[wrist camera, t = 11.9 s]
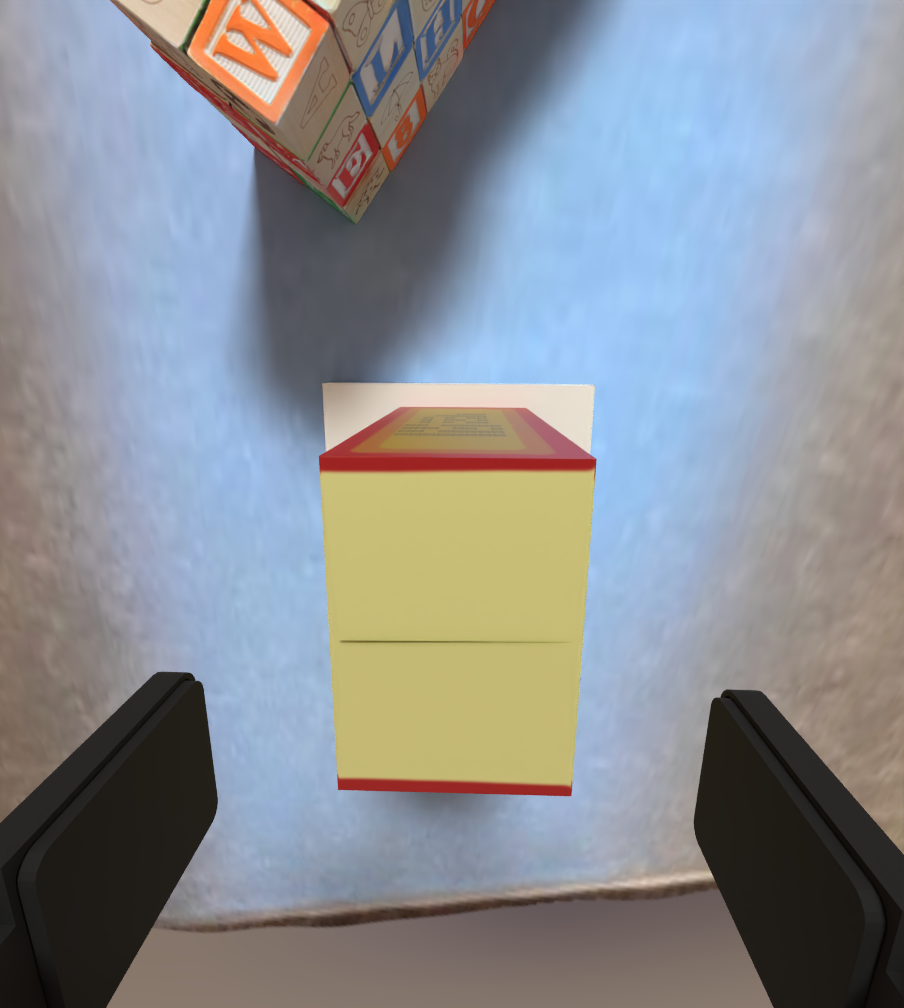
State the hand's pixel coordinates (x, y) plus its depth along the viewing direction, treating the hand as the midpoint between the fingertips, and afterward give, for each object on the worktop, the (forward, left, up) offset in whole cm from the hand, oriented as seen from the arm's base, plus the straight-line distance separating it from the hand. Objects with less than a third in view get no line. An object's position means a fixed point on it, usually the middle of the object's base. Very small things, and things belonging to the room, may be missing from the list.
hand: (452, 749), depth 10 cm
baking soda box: (0, 0, -20) cm, 20 cm away
